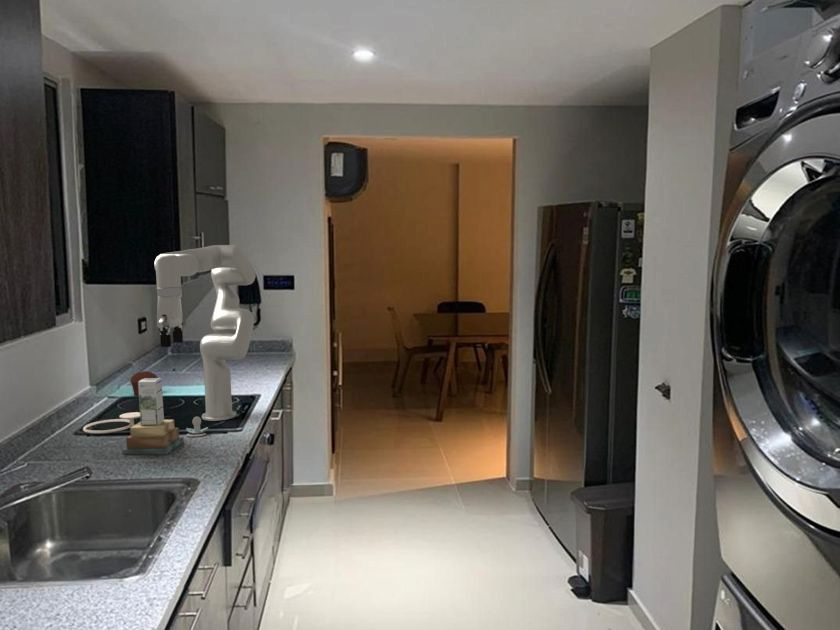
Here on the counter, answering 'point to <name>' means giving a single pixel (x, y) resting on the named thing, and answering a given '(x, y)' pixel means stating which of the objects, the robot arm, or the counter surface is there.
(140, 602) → the counter surface
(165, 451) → the tower base
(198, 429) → the pacifier
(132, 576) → the counter surface
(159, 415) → the syrup box
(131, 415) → the hand towel holder
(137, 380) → the muffin
